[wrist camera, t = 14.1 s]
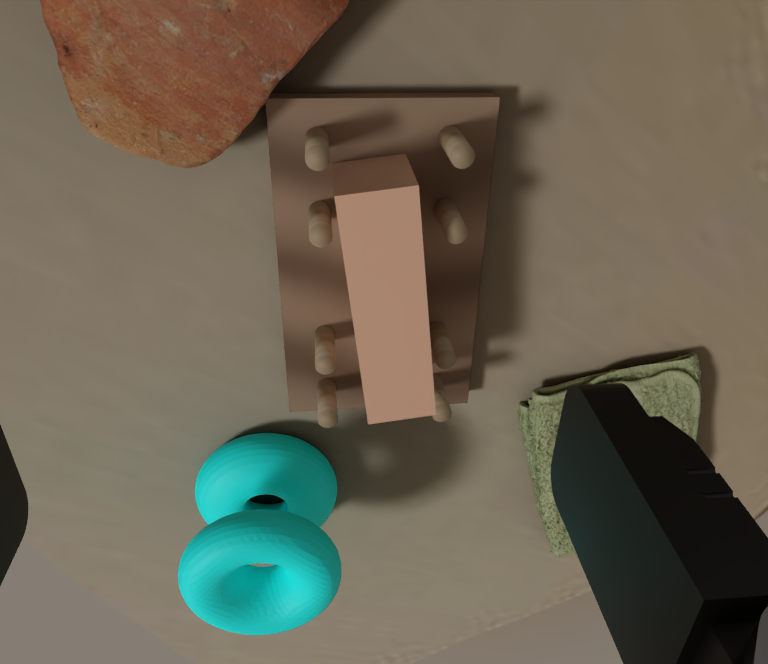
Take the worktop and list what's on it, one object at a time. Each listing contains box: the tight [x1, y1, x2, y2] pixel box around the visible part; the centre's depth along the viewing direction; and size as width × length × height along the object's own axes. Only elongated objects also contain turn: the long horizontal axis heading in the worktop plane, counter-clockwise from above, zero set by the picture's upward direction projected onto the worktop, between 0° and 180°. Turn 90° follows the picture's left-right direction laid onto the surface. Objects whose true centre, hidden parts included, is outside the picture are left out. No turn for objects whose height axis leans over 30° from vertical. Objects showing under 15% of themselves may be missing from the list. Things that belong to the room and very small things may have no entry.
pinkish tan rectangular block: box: [331, 154, 436, 424], centre depth 36 cm, size 14×4×5 cm, turn 6°
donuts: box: [178, 433, 341, 635], centre depth 43 cm, size 10×10×10 cm
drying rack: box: [266, 92, 500, 428], centre depth 37 cm, size 20×12×5 cm, turn 179°
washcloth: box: [517, 352, 702, 556], centre depth 49 cm, size 13×18×3 cm
